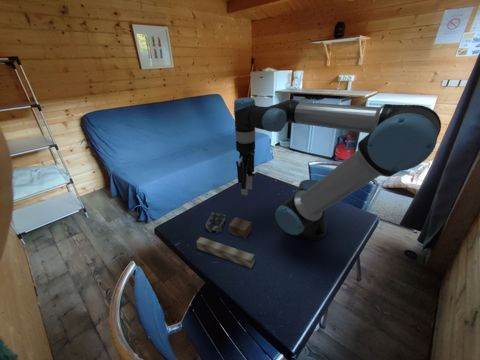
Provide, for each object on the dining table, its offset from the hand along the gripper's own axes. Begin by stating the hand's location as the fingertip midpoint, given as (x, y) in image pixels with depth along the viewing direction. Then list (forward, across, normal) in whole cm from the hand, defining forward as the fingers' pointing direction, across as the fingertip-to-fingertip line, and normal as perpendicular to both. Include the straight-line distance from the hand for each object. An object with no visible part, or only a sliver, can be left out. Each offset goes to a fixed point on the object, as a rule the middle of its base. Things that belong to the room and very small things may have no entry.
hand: (246, 191), depth 99 cm
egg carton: (+17, +8, -12) cm, 23 cm away
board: (+17, +22, 0) cm, 28 cm away
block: (+17, +8, 0) cm, 19 cm away
